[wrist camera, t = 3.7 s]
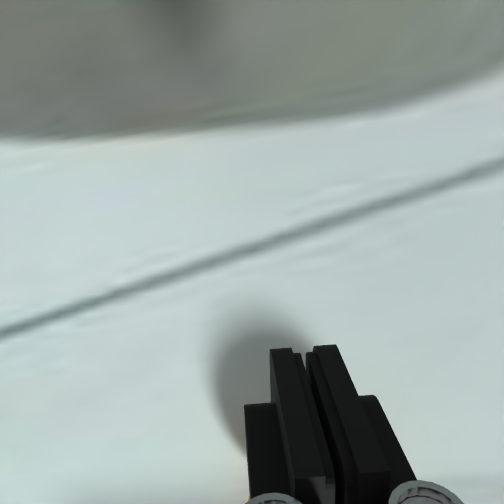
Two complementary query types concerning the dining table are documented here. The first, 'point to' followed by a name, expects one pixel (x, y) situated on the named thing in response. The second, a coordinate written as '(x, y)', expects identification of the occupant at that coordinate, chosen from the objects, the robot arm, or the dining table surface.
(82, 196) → the dining table surface
